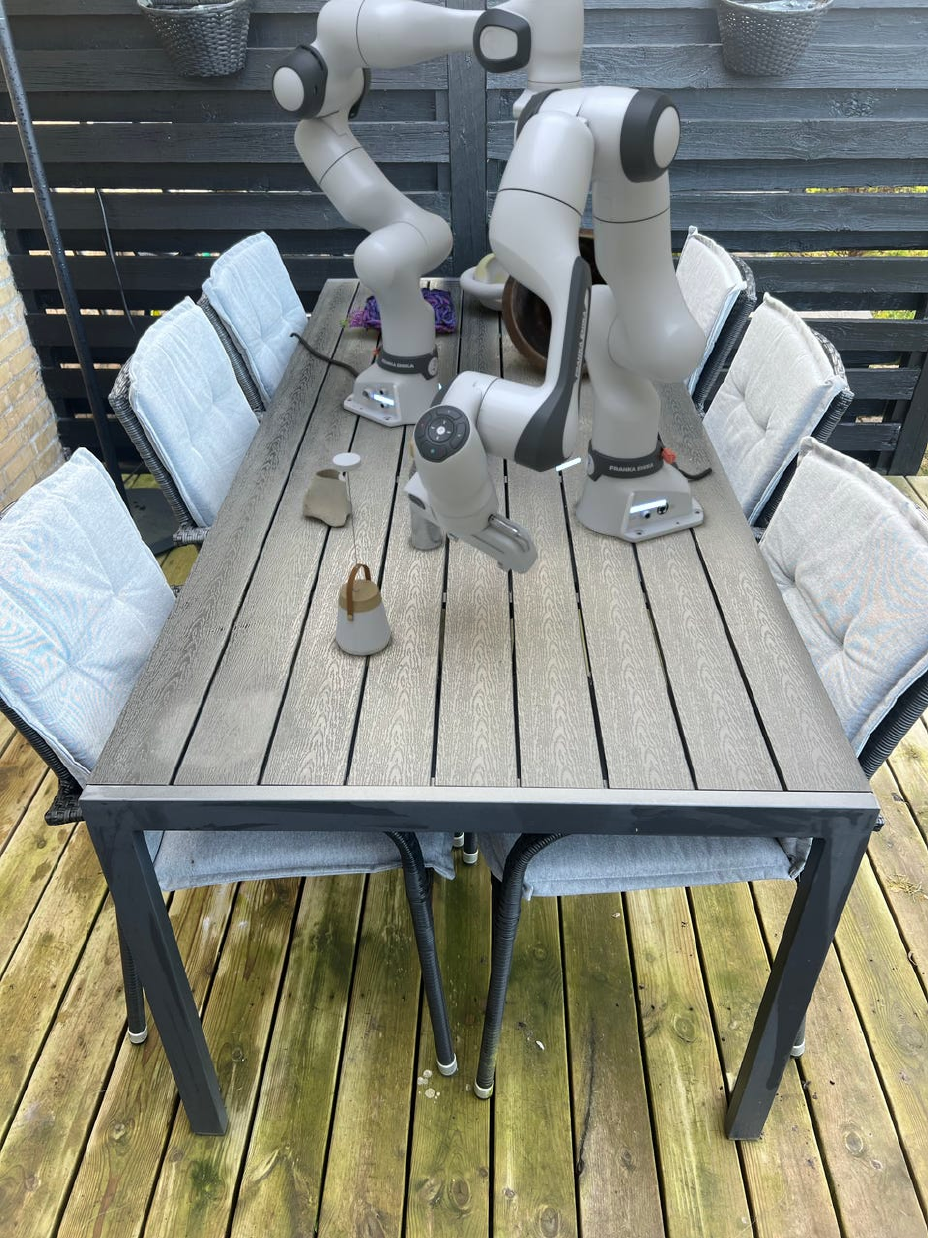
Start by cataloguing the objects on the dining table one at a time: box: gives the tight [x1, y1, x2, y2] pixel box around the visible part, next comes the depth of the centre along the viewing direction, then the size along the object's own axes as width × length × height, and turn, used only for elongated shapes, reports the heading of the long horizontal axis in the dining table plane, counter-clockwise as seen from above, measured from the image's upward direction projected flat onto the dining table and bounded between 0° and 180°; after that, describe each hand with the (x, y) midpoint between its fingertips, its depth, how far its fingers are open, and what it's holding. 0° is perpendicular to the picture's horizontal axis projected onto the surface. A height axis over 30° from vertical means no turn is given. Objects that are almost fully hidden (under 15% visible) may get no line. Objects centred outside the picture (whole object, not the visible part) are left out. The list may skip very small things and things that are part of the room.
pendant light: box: [332, 452, 392, 656], centre depth 130 cm, size 8×8×30 cm
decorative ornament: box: [338, 287, 457, 334], centre depth 237 cm, size 13×11×30 cm
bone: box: [301, 468, 353, 528], centre depth 164 cm, size 9×8×10 cm
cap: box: [409, 437, 414, 459], centre depth 150 cm, size 4×4×2 cm
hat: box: [459, 252, 510, 312], centre depth 248 cm, size 25×22×15 cm
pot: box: [501, 227, 608, 375], centre depth 220 cm, size 32×32×30 cm
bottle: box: [408, 459, 442, 551], centre depth 155 cm, size 5×5×19 cm
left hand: (549, 189), depth 161 cm, fingers open, 8 cm apart
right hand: (480, 551), depth 137 cm, fingers open, 8 cm apart
